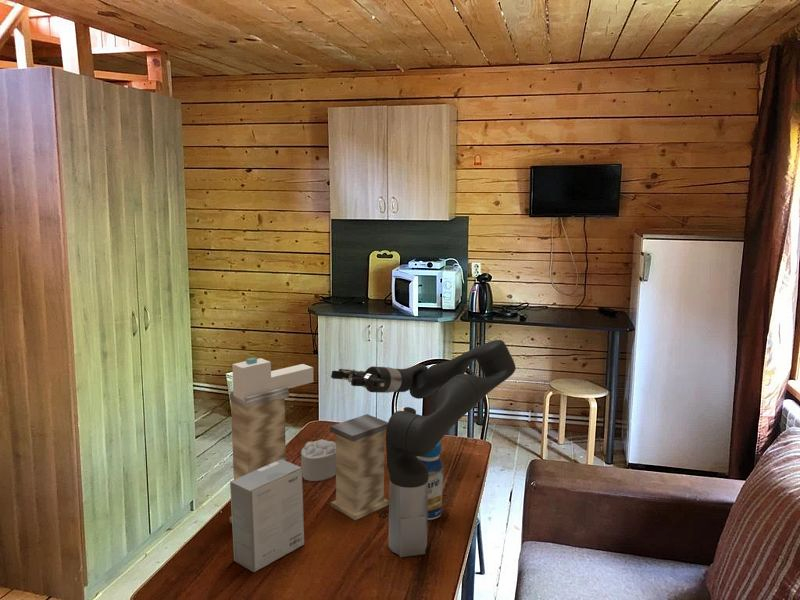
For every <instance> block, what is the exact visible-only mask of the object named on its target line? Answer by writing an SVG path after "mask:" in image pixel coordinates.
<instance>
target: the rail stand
mask: <svg viewBox="0 0 800 600" xmlns="http://www.w3.org/2000/svg"><path fill="white" fill-rule="evenodd" d="M229 392H230V393H229V400H230V411H231V412H230V414H231V416H230V417H231V438H232V439H231V440H232V441H231V442H232V466H233V467H232V468H233V469H232V471H233V480H235V479H237V478H239V477H242V476H244V475H246V474H249V473H251V472H253V471H255V470H257V469H260V468H262V467H264V466H267V465H269V464H271V463H274V462H276V461H278V460H281V459H282V460H285V461H287V456H286V454H287V451H286V449H287V447H286V405H285V403H286V402H285V399H286V398H289V397H290V391H289V389H288V388H287V387H285V388H281V389H277V390H273V391H269V392H266V393H262V394H258V395H254V396H250V397H246V398H245V400H242V399H240V398H237V397H235V396H233V390H230V391H229ZM229 523H230V524H232V516H229Z"/></svg>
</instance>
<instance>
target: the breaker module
mask: <svg viewBox="0 0 800 600" xmlns="http://www.w3.org/2000/svg"><path fill="white" fill-rule="evenodd" d="M231 367H232V391H233V396H235V397H237V398H240V399H242V400H245V398H246V397H250V396H254V395H258V394H262V393H266V392H269V391H273V390H277V389H281V388H285V387H287V388H288V390H289V389H291V388H292V389H294V388H296V387H297V388H298V387H300V386H305V385H308V384H311V383H314V367H313V366H309V365H307V364H305V363H302V364H301V363H300V364H296V365H293V366H287V367H284V368H278V369H274V370H272V363H271V361H269V360H266V359H264V358H261V357H260V358H256V357H250V358H249V357H248V358H246V359H245V361H239V362H236V363H232V366H231Z"/></svg>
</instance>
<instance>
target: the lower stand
mask: <svg viewBox="0 0 800 600" xmlns="http://www.w3.org/2000/svg"><path fill="white" fill-rule="evenodd" d="M387 424H388V421H386V420H383V419H380V418H378V417H376V416H373V415H370V414H364V415H360V416H358V417H357V416H356V417H355V418H352V419H351V418H350V419H348V420H345V421H343V422H338V423H336V424H332V425H330V426H329V432H330V433H332V434H334V435H335V443H336V475H335V499H334V500H333V501H331V502H330V507H331V508H333V509H335V510H336V511H338V512H340V513H342V514H343V515H345V516H347V517H349V518H350V519H352V520H354V521H357V520H359V519H361V518H363V517H366V516H368V515H370V514H372V513H374V512H377V511H378V510H380V509H382V508H384V507H387V506H389V499H386V498H385V497H384V496H385V492H384V491H385V431H386V429H387Z"/></svg>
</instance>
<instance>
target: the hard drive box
mask: <svg viewBox="0 0 800 600" xmlns="http://www.w3.org/2000/svg"><path fill="white" fill-rule="evenodd" d="M229 485H230V486H229V487H230V488H229V489H230V506H231V508H230V509H231V517H232V523H231V525H232V541H233V542H232V544H233V561H234V562H236V563H237V564H238V565H241V566H242V567H244V568H246V569H248V570H249V571H250V572H252V573H256V572H257V571H259V570H261V569H263V568H264V567H267V566H269V565H270V564H271V563H273V562H275V561H277V560H278V559H280V558H282V557H284V556H286V555H287V554H290V553H291V552H294V551H296V550H297V549H298V548H300V547H302V546H304V545H305V529H304V528H305V527H304V496H303V494H304V492H303V489H304V488H303V478H302V468H301V466H299V465H296V464H294V463H292V462H289V461H287V460H286V461H285V460H282V459H281V460H278V461H276V462H274V463H271V464H269V465H267V466H264V467H262V468H260V469H257V470H255V471H253V472H251V473H249V474H246V475H244V476H242V477H239V478H237V479H235V480H234V479H233V480H230V481H229Z"/></svg>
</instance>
